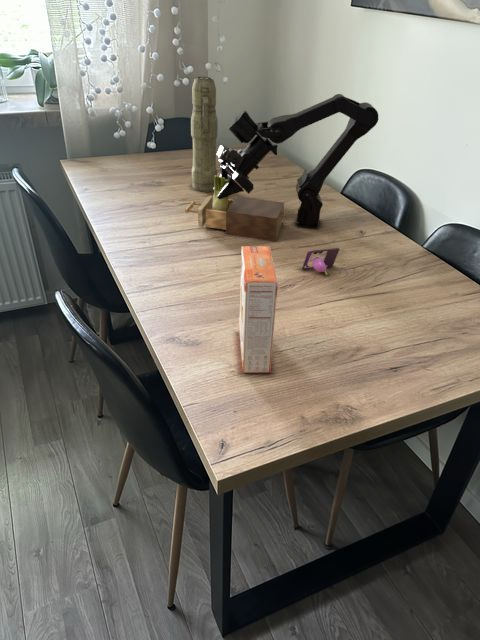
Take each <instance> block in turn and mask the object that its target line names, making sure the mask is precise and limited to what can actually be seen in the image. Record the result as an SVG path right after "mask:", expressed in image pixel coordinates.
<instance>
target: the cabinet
mask: <svg viewBox="0 0 480 640" xmlns="http://www.w3.org/2000/svg"><path fill="white" fill-rule="evenodd" d="M233 200H234V201H233V202H232V204H231V205H230V207H229V208H228V210H227V211H226V230H225V235H230V236H237V237H245V238H251V239H258V240H265V241H271V242H272V241H273V242H276V240H277V238H278V235H279V233H280V230H281V228H282V226H283V221H284V211H285V210H284V209H285V202H282V201H275V200H267V199H260V198H252V197H245V196H238V195H236V196H235V198H234V199H233Z"/></svg>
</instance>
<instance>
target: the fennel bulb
mask: <svg viewBox="0 0 480 640" xmlns="http://www.w3.org/2000/svg"><path fill="white" fill-rule="evenodd" d="M227 181H228V180H227V179H226V180H225V178H224V177H221V178H220V175H218V174H217V175H215V176H214V192H213V195H212V196H213V204H212V210H217V211H225V212H226V211H227V210H228V208H229V199H230V196H227V197H225V198H222V199H218V198H217V196H218V194H219V193H220V191H221V190H222V189H223V187H224V186H225V185H226V183H227Z"/></svg>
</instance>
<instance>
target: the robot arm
mask: <svg viewBox="0 0 480 640" xmlns="http://www.w3.org/2000/svg"><path fill="white" fill-rule="evenodd" d="M339 113H340V114H343V115H344V116H346V117H348V118H349V119H348V122H347V124H346V126H345V129H344V131H343V132H342V133H341V134H340V135H339V137H338V138H337V139H336V140H335V142H334V143H333V144H332V146H331V147H330V148H329V150H328V151H327V152H326V153H325V155H324V156H323V157H322V158H321V160H319V162H318V163H317V165H316V166H315V167H314V168H313V169H312V170H310V171H309V172H308V171H307V169H304V171H302V174H301V175H300V177H298V178H297V179H296V182H297V183H296V184H295V191H296V196H297V199H298V200H299V202H300V205H299V207H298V208H297V215H296V223H297V227H302V228H308V229H315V230H316V229H319V227H320V226H319V225H320V222H321V220H320V218H321V210H322V207H323V206H324V204H323V201H322V198H321V195H320V192H321V190H322V188H323V185H324V182H325V180H326V179H327V177H328V176H329V175H330V174H331V173H332V172H333V170H334V169H335V168H336V166H338V164H339V163H340V161H341V160H342V159H343V158H344V157H345V155H346V154H347V153H348V152H349V151H350V149H351V148H352V146H353V145H354V144H355V143H356V142H357V141H358V140H359V139H360V138H362V137H363V136H365V135H367V134H368V133H369V132H371V130H373V128H375V126H376V125H377V124H378V122H379V112H378V110H377V109H376V108H375V107H374V106H373V105H372V104H371V103H369V102H366V101H365V102H359V101H356V100H354V99H352V98H349V97H346V96H345V95H344V94H342V93H337V94H334V95H333V96H332V97H329V98H327V99H325V100H323V101H320V102H319V103H316V104H314V105H312V106H309V107H306V108H304V109H303V110H301V111H298V112H296V113H290V114H283V115H279V116H274V117H271V118H270V119H269V121H263V122H256V121H255V120H254V119H253V118H252V117H251V115H250V113H249V112H248V111H247V110H243V112H242V113H240V114H238V115H237V116H235V117H234V118H233V119H232V121H231V122H230V123H229V124H228V126H227V130H229V131H230V133H232V134H233V136H234V137H235V138H236V139H237V140H238V141H239V142H240V143H241V144H243V143H245V144H248V145H247V146H246V147H244V149H242V148H239V149H238V150H237V149H234V148H233V147H231V148H230V147H228V146H226V145H224V144H220V145H219V147H218V149H217V151H216V157H218V159H217V160H218V162H219V163H220V164H219V170H220V174H219V176H220V178H221V177H224V178H225V180H226V179H227V180H228V181H227V183H226V185H225V186H224V187H223V189H222V190H221V191H220V193H219V194H218V196H217V198H218V199H222V198H225V197H227V196H229V197H230V196H232V195H235V194H238V193H241V192H242V193H243V192H246V193H247V194H248V195H249V194H251V192H252V191H253V190H254V184H253V182H252V181H251V180H250V177H249V175H250V174H251V173H252V171H254V169H255V170H258V169H259V168H260V166H259V164H260V163H261V162H262V161H263V160H264V159H265V158H266V157H267V156H268V154H270V153H272V154H273V155H274V156H277V155H278V144H279V145H280V144H282V143H284V142H285V141H287V140H288V139H289V138H291V137H293V136H294V135H295V134H296V133H297V132H299V131H300V130H303V129H305V128H306V127H309V126H311V125H313V124H315V123H318V122H320V121H323V120H324V119H326V118H329V117H331V116H333V115H336V114H339ZM273 143H274V144H273ZM212 192H213V193H214V188H213V191H212Z"/></svg>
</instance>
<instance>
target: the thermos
mask: <svg viewBox="0 0 480 640" xmlns="http://www.w3.org/2000/svg"><path fill="white" fill-rule="evenodd" d="M191 92H192V93H191V101H192V103H191V104H192V113H191V117H190V136H191V138H192V166H191V181H192V184H191V185H192V189H193V190H194V191H196V192H197V191H198V192H204V193H207V192H213V188H214V176H215V175H217V176H218V169H217V155H216V154H217V138H218V133H219V132H218V129H219V128H218V123H219V122H218V121H219V119H218V116H217V110H216V106H217V87H216V84H215V80H214V79H213V78H212V77H210V76H197V77H195V78H194V79H193V83H192V87H191Z"/></svg>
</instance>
